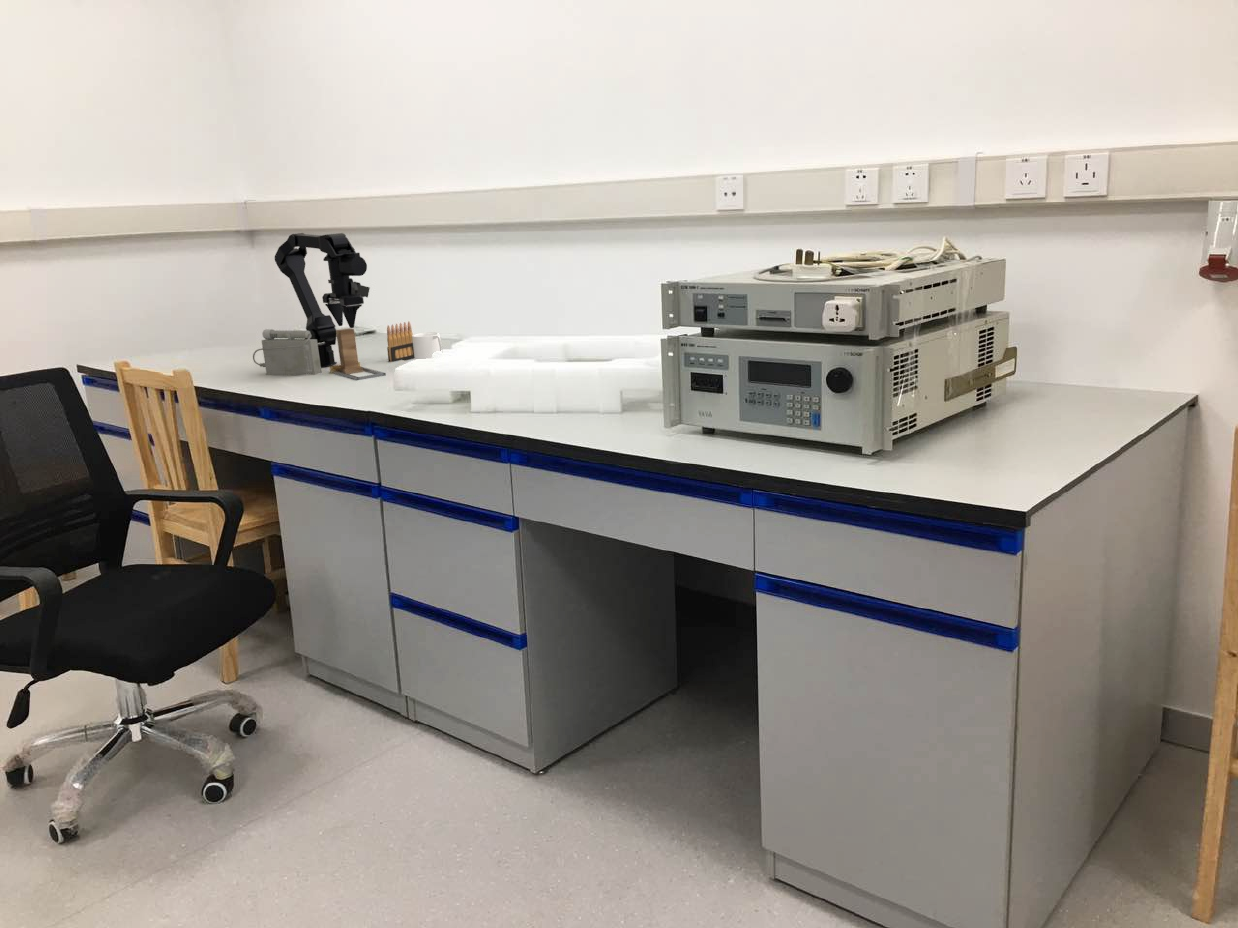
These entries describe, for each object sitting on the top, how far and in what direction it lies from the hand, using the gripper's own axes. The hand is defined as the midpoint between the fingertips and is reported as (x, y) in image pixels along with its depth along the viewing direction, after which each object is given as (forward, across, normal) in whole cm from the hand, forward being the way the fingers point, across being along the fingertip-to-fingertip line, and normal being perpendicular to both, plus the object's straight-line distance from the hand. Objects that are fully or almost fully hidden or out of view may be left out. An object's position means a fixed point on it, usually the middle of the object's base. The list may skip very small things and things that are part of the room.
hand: (346, 326), depth 311 cm
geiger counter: (+13, +8, +18) cm, 24 cm away
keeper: (+12, -9, +4) cm, 16 cm away
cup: (+13, -22, -17) cm, 31 cm away
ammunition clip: (+13, 0, -17) cm, 22 cm away
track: (+13, -14, +4) cm, 20 cm away
